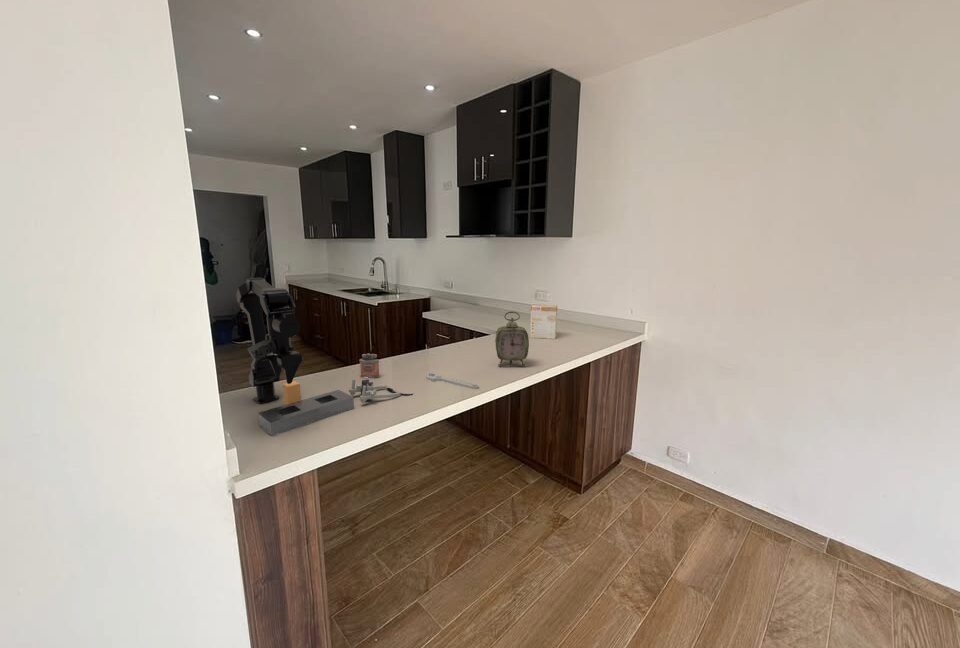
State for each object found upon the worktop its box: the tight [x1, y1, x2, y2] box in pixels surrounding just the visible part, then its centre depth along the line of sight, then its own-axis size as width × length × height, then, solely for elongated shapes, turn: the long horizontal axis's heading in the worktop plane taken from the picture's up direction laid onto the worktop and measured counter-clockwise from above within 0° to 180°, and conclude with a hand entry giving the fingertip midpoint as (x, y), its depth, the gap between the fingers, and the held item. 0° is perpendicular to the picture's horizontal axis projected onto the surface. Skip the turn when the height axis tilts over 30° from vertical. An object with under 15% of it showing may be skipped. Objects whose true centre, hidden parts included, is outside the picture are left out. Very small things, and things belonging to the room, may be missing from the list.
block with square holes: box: [257, 389, 355, 436], centre depth 123 cm, size 10×26×4 cm, turn 138°
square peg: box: [282, 380, 302, 405], centre depth 130 cm, size 4×4×8 cm
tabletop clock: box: [494, 311, 530, 368], centre depth 174 cm, size 14×9×25 cm, turn 91°
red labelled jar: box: [359, 353, 381, 379], centre depth 159 cm, size 8×3×10 cm, turn 83°
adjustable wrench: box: [425, 372, 480, 390], centre depth 153 cm, size 25×6×2 cm, turn 52°
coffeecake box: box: [529, 303, 558, 340], centre depth 229 cm, size 15×7×20 cm, turn 74°
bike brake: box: [348, 378, 414, 404], centre depth 140 cm, size 14×7×20 cm
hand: (283, 379), depth 120 cm, fingers open, 9 cm apart
